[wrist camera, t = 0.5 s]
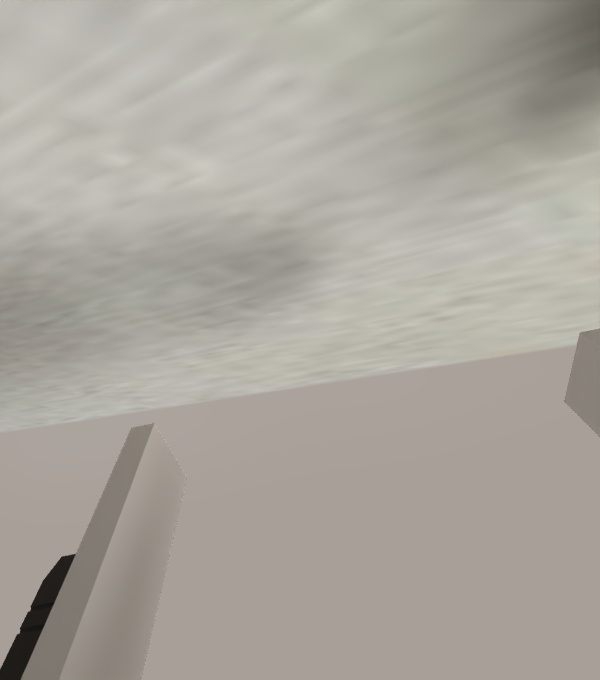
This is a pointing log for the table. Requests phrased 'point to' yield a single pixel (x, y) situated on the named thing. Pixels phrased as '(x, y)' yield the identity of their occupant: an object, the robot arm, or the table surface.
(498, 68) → the table surface
